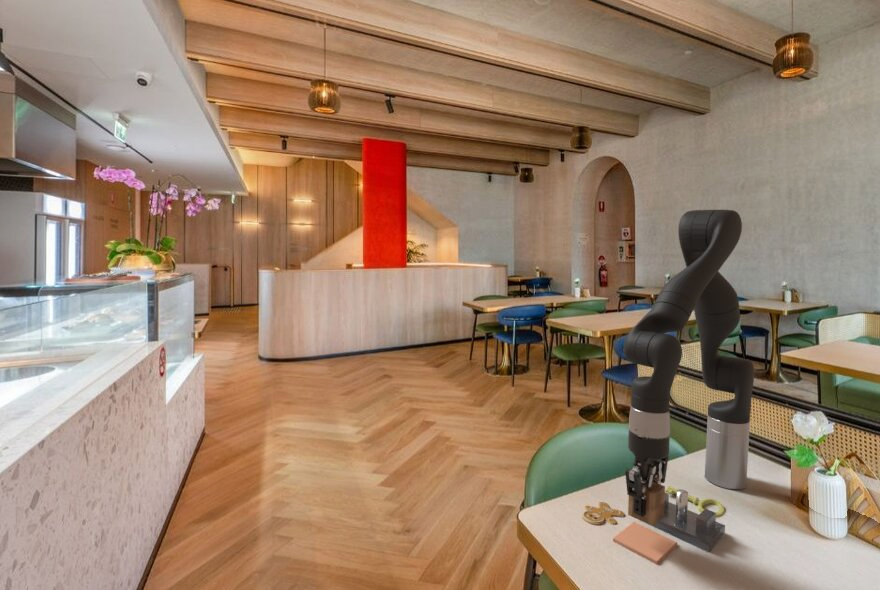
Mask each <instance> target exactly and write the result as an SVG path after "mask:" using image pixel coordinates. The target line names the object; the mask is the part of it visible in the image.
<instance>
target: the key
mask: <svg viewBox="0 0 880 590" xmlns="http://www.w3.org/2000/svg"><path fill="white" fill-rule="evenodd" d="M677 490H678V489H677V488H675V487H672V486H670V485H668V486H667V488H666V489H665V493H668V494H669V495H671V494H672V493H673V494H674V495H675V496H677ZM688 502H690V503H693V505H694V504H695V506H696V505H697V511H698V512H699V514H700V513H702V512H703V511H704V510H705V509H704V507H703V506H705V505H709V504H711V505H715V506H717V507H718V509H719V510H718V511H717V512H715V513H716V518H718V517H721V516H723V515H724V513H725V508H724V505H723V503H721V502H720V501H718V500H716V499H713V498H703V499H701V500H700V499H699V497H697V496H695V497H693V496H692V495H689V494H688Z"/></svg>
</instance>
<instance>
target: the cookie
mask: <svg viewBox="0 0 880 590" xmlns="http://www.w3.org/2000/svg"><path fill="white" fill-rule="evenodd" d="M597 505H598V507H595V506H591V505H585V506H584V510H585V511H584V512H582V515H581V519H582V520H583V521H585V523H588V524H590V525H593V526H600V525H603V524H605V520H606V522H607V523H608V524H609V523H610V525H612V524H613V526H614V524H615V525H617V524H618V521H617V520H616V519H615V518H614V517H618V516H620V517H619V518H623V517H622V516H624V517H626V514H625V512H623V511H621V510H619V509H613V508H611V506H610V505H609V504H608V503H607V502H603V501H599V502H598V503H597Z"/></svg>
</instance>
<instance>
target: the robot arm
mask: <svg viewBox="0 0 880 590" xmlns="http://www.w3.org/2000/svg"><path fill="white" fill-rule="evenodd" d="M742 230H743V223H742V218H741V216H740V214H739V213H738V212H737V211H736V210H733V209H699V210H697V209H694V210H688V211H685V213H683V215H682V216H681V217H680V218H679V223H678V230H677V231H678V243H679V246H680V248H681V253H682V256H683V260H684V263H685V266H686V267H685V268H684V269H683V270H681V271H680V272H678V273H676V274H675V275H673V277H671V278H670V279H669V280H668V281H667V282H666V283H665V284H664V286H662V288H661V290H660V291H659V293H658V296H657V297H656V299H655V301H654V303H653V305H652V307H651V309H650V310H649V311H648V312H647V313H646V314H645V315H644V316H643V317H642V318H641V319H640V320H639V321H638V322H636V324H635V325H634V326H633V328H631V330H630V331H629V332H628V334H627V335H626V337H625V339H624V342H623V354H624V357H625V358H626V359H627V360H628V361H629V362H630V363H633V364H636V365H638V366H644V367H649V368H653V372H652V374H651V376H650V375H649V376H648V375H647V376H645V375H644V376H643V375H642V376H637V377H635V378H634V379H633V380H632V382H631V389H630V390H631V391H630V394H631V395H630V409H629V415H628V416H629V417H628V439H627V440H628V441H627V443H628V444H627V448H628V450H629V451H630V452H631V453H632V454H633V455H634V460H633V464H632V465H633V467H632V469H629V468H626V470H625V473H624V474H625V483H626V493H627V496H628V497H629V496H632V497H634V509H633V511H634V513H635V514H637V515H639V516H641V517H644V516H645V515H646V496H647V491H648V488H651V484H652V481H653V482H655V483H656V484H660V485H662V484H665V482H666V477H667V470H668V462H669V453H670V442H671V441H670V439H671V438H670V435H671V416H670V401H671V398H670V397H671V390H672V387H673V383H674V380H675V377H676V374H677V371H678V368H679V366H680V363H681V361H682V357H683V347H682V344H681V342H680V341H679V339H678V338H677V336H674V335H672V334H669V333H675V332H679V331H682V330H683V329H684V328H685V327H686V325H687V324H688V321H689V319H690V318H691V316H692V313H693V311H694V316H695V321H696V326H697V331H698V332H697V333H698V337H699V344H700V357H701V371H702V379H703V383H704V384H705V386H706V387H707V388H709V389H711V390H714V391H719V392H724V393H731V394H733V395H734V397H733V398H732V399H729V400H728V399H727V400H721V401H713V402H711V403H709V404H708V405H707V406H708V407H707V421H706V423H707V425H706V444H705V461H704V462H705V464H704V478H705V479H706V480H707V481H708V482H710V483H711V484H713V485H716V486H718V487H720V488H724V489H729V490H742V489H745V488H746V487H747V482H748V481H747V478H748V464H749V463H748V461H749V460H748V459H749V447H750V445H749V444H750V443H749V442H750V426H751V409H752V397H753V388H754V380H755V366H754V364H753V362H752V361H751V360H750V359H746V358H741V357H733V356H727V355H726V356H725V355H721V354H719V348H720V347H721V345H723V343H724V342H725V341H726V339H727V338H729V337H730V335H731V334H732V333H733V332H734V331H735V330H736V328H737V327H738V325H739V323H740V321H741V320H740V319H741V312H740V302H739V295H738V294H737V291H736V289H735V288H734V287H733V286H732V285H731V283H730V282H729V281H728V280H727V278H725V277H724V276H723V275H722V274H721V273H720V270H721V268H722V266H723V265H724V263H726V261H727V260H728V258H729V257H730V256H731V255H732V253H733V251H734V250H735V248H736V246H737V244H738V243H739V240H740V239H741V235H742ZM667 333H668V334H667ZM641 479H643V480H645V481H647V482H646V483H645V482H642V481H641ZM641 486H642V487H643V491H642V487H641ZM632 488H633V489H632Z"/></svg>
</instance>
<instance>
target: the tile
mask: <svg viewBox="0 0 880 590" xmlns="http://www.w3.org/2000/svg"><path fill="white" fill-rule="evenodd" d="M612 541H613V542H614V543H616V544H617V545H619V546H622V547H624V548H625V549H627V550H629V551H631V552H633V553H635V554H636V555H639V556H641V557H642V558H645V559H646V560H648V561H650V562H651V563H653V564H655V565H657V564H658V563H660V562H661V561H662V560H663V559H664V558H665V557H666V556H667V555H668V554H669V553H670V552H671V551H673V549H674V548H675V547H676V546H677V545H678V541H676V540H674V539H672V538H669V537H667V536H665V535H663V534H661V533H658V532H656V531H655V530H652V529H651V528H648V527H646V526H644V525H643V524H640V523H639V522H636V521H633V522H632V523H630V524H629V525H628V526H626V527H625V528H624V529H623V530H622V531H620V532H619V533H618V534H616V535H615V536H613V538H612Z"/></svg>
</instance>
